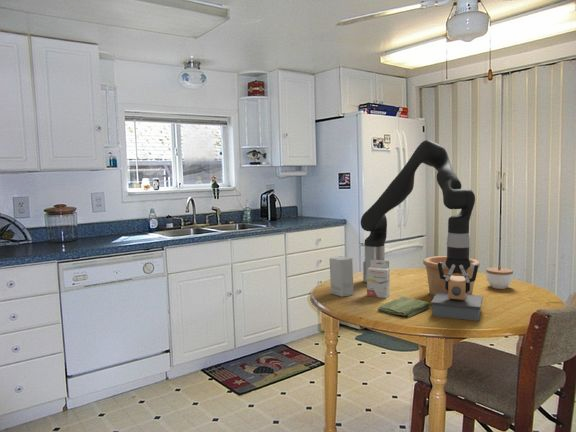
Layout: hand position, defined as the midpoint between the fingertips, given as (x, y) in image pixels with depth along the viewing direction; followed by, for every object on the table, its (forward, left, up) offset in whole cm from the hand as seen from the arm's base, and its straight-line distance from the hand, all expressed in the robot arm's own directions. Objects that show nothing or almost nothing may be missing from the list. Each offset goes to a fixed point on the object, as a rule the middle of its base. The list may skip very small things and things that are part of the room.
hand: (457, 291), depth 164 cm
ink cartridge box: (-32, +12, -8) cm, 35 cm away
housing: (0, +1, -2) cm, 2 cm away
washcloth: (-18, -4, -8) cm, 20 cm away
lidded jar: (+13, +46, -8) cm, 48 cm away
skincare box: (-47, +9, -8) cm, 48 cm away
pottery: (-5, +25, -8) cm, 27 cm away
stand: (0, 0, -8) cm, 8 cm away
